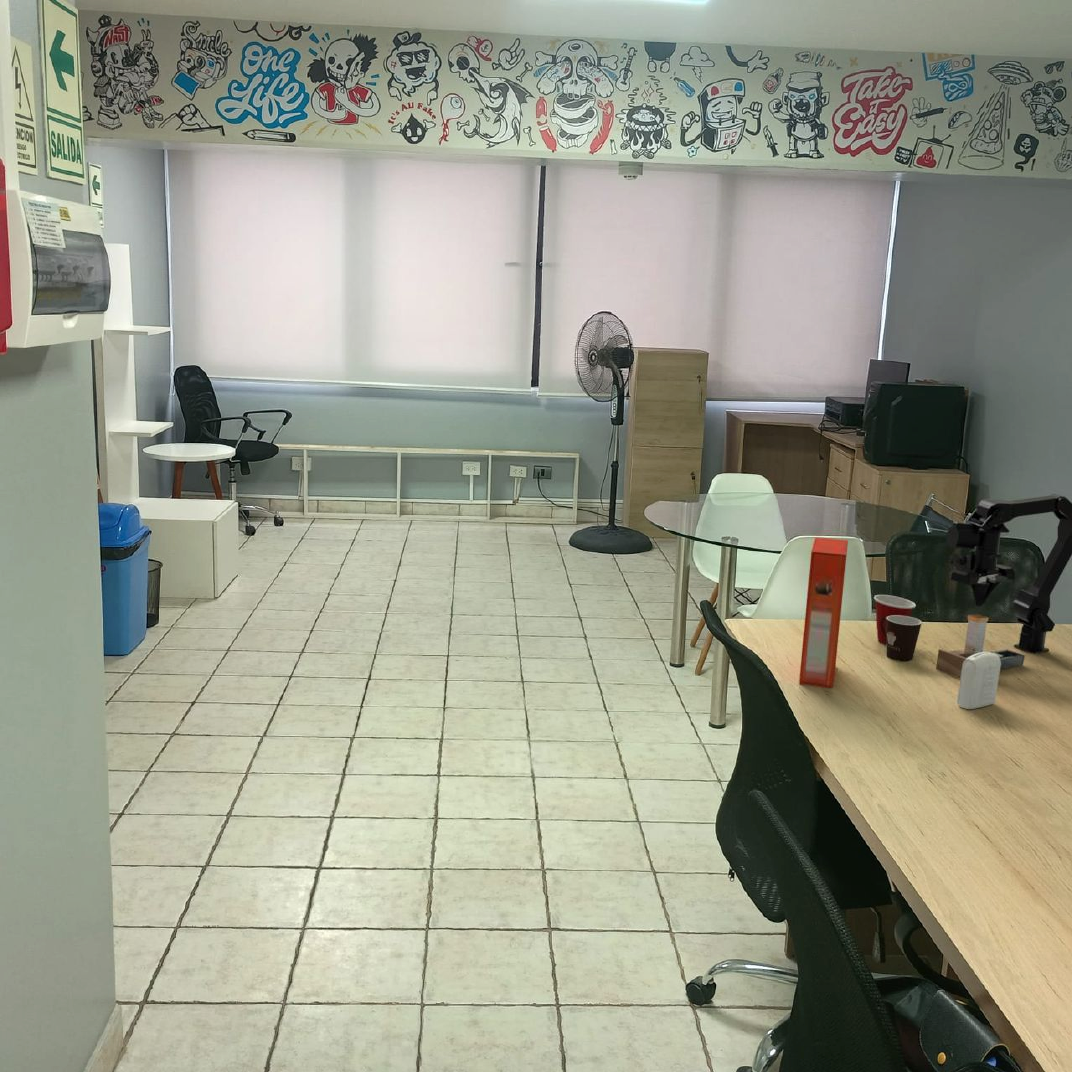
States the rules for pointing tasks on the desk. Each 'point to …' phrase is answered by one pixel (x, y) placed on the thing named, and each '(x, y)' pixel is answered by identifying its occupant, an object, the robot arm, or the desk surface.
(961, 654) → the socket
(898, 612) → the plastic cup
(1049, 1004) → the desk surface
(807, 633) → the file binder
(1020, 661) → the sleeve
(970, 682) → the photo printer
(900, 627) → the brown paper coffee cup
